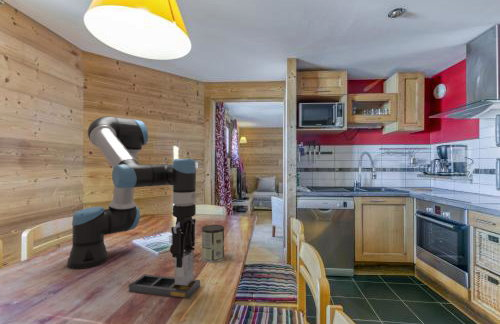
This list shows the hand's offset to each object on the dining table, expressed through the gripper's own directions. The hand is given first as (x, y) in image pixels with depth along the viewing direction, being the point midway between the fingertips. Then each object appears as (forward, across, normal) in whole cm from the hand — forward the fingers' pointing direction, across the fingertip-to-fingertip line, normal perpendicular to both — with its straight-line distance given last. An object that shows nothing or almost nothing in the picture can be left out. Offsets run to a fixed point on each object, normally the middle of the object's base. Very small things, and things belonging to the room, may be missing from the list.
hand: (184, 272), depth 85 cm
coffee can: (+7, +31, +1) cm, 32 cm away
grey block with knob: (+3, 0, 0) cm, 3 cm away
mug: (+7, +28, +16) cm, 33 cm away
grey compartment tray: (+7, 0, +7) cm, 10 cm away
